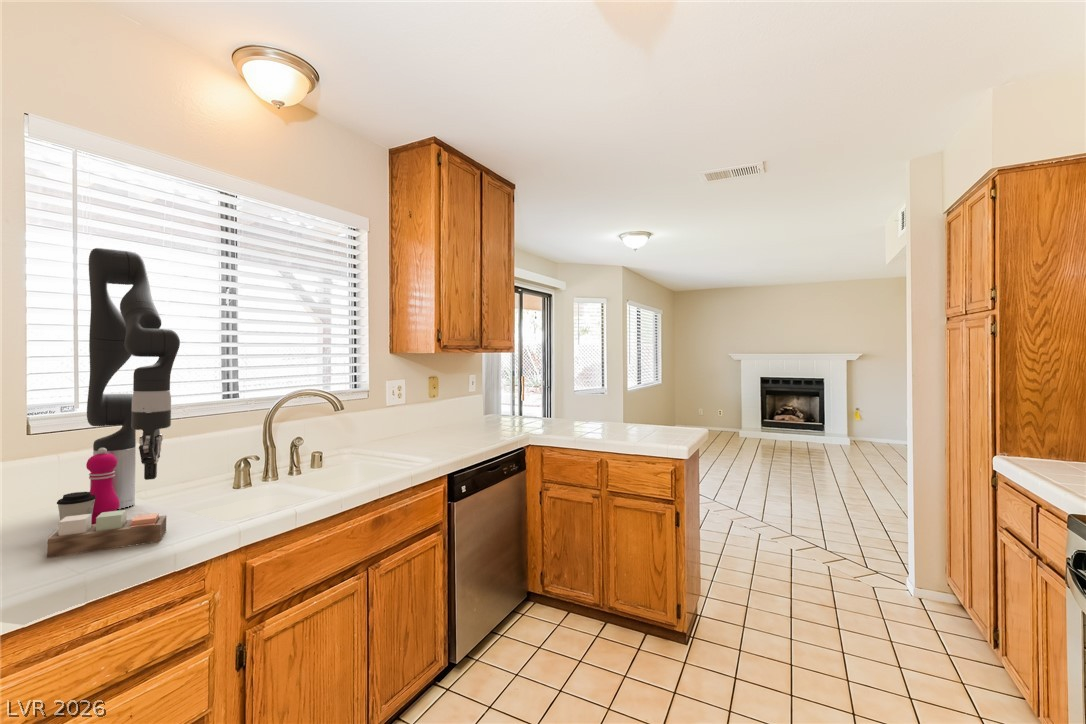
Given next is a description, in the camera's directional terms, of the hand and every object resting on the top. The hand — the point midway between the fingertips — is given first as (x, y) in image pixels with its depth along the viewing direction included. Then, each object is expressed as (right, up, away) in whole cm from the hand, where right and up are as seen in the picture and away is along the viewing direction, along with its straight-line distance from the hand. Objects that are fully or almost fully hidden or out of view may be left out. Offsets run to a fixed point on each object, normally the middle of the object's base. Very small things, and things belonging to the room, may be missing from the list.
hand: (150, 478), depth 117 cm
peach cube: (+1, -13, -2) cm, 13 cm away
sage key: (-5, -11, -6) cm, 13 cm away
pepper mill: (-20, -14, +8) cm, 25 cm away
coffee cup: (-18, -14, -1) cm, 23 cm away
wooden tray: (-5, -14, -6) cm, 16 cm away
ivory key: (-10, -11, -9) cm, 17 cm away
